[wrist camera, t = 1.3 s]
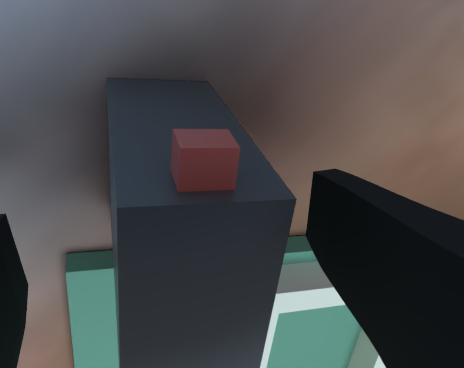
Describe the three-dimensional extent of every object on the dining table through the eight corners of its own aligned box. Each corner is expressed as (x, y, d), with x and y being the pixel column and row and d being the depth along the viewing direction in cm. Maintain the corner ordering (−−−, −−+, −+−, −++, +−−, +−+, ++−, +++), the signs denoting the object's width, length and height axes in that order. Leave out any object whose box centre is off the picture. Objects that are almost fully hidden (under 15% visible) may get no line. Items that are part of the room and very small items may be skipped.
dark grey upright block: (210, 55, 13) (305, 157, 7) (195, 223, 16) (254, 394, 10) (105, 49, 12) (116, 160, 6) (111, 228, 15) (121, 418, 9)
